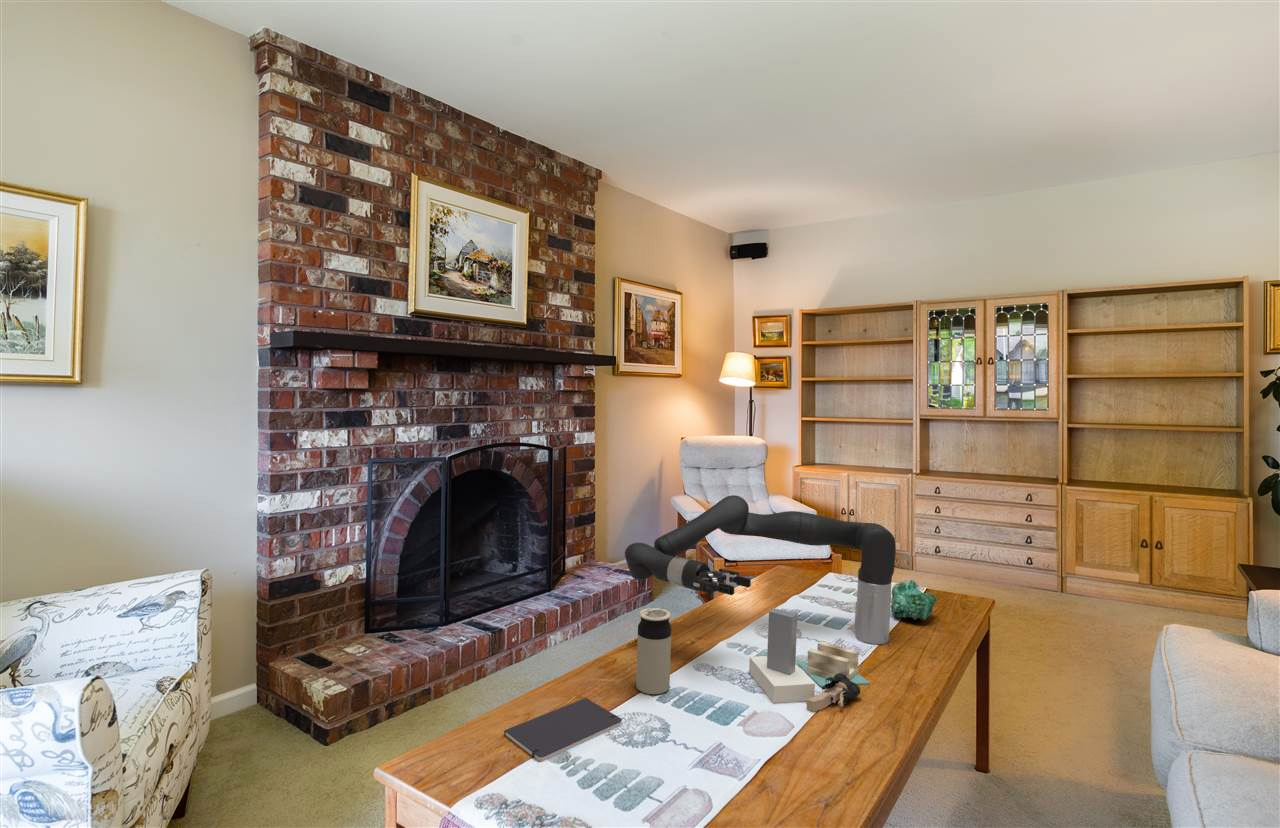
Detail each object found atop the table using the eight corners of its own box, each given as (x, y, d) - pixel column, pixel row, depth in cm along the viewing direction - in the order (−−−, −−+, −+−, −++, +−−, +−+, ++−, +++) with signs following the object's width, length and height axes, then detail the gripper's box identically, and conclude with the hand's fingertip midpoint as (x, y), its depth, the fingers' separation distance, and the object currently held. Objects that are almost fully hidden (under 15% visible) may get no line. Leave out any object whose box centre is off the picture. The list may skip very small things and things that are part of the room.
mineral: (873, 606, 217) (875, 577, 216) (917, 606, 218) (919, 577, 218) (901, 627, 198) (903, 595, 198) (949, 626, 200) (951, 594, 200)
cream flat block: (749, 672, 163) (749, 656, 163) (786, 670, 165) (786, 654, 165) (773, 703, 148) (774, 686, 148) (814, 700, 150) (814, 683, 149)
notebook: (585, 704, 146) (504, 737, 131) (585, 697, 146) (504, 730, 131) (623, 726, 137) (540, 765, 122) (623, 719, 137) (540, 757, 122)
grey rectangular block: (766, 668, 157) (768, 611, 156) (772, 664, 159) (774, 608, 159) (789, 675, 153) (792, 617, 153) (795, 671, 156) (797, 614, 155)
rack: (806, 672, 163) (807, 651, 163) (820, 661, 170) (821, 640, 170) (845, 684, 157) (846, 662, 157) (858, 672, 164) (859, 651, 164)
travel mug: (676, 687, 154) (678, 613, 153) (654, 699, 148) (656, 621, 147) (651, 676, 159) (653, 605, 158) (629, 687, 153) (631, 612, 153)
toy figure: (831, 722, 141) (864, 697, 151) (829, 693, 141) (862, 670, 151) (803, 713, 146) (837, 690, 157) (800, 686, 146) (834, 664, 157)
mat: (797, 664, 169) (797, 662, 169) (843, 661, 172) (843, 660, 171) (820, 687, 156) (820, 685, 156) (869, 684, 159) (869, 682, 159)
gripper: (673, 564, 166) (728, 578, 157) (702, 554, 178) (756, 566, 168) (672, 593, 167) (727, 608, 157) (701, 581, 178) (754, 595, 168)
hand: (742, 587), depth 162 cm, fingers open, 8 cm apart
